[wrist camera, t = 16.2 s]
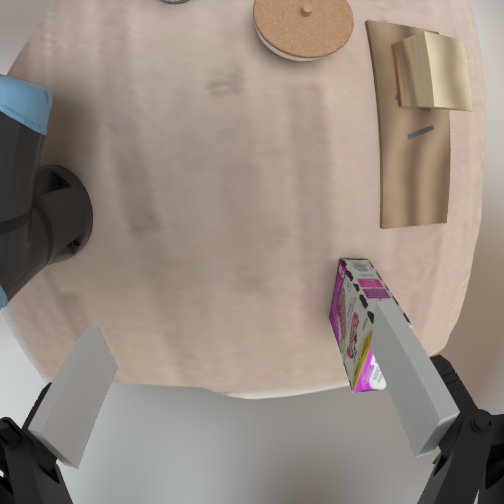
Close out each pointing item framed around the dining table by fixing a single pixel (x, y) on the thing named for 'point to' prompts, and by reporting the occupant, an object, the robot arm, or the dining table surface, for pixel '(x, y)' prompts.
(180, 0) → the travel mug
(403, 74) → the block
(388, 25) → the board
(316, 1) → the lidded jar
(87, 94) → the dining table surface
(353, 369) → the candy bar box
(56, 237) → the robot arm
